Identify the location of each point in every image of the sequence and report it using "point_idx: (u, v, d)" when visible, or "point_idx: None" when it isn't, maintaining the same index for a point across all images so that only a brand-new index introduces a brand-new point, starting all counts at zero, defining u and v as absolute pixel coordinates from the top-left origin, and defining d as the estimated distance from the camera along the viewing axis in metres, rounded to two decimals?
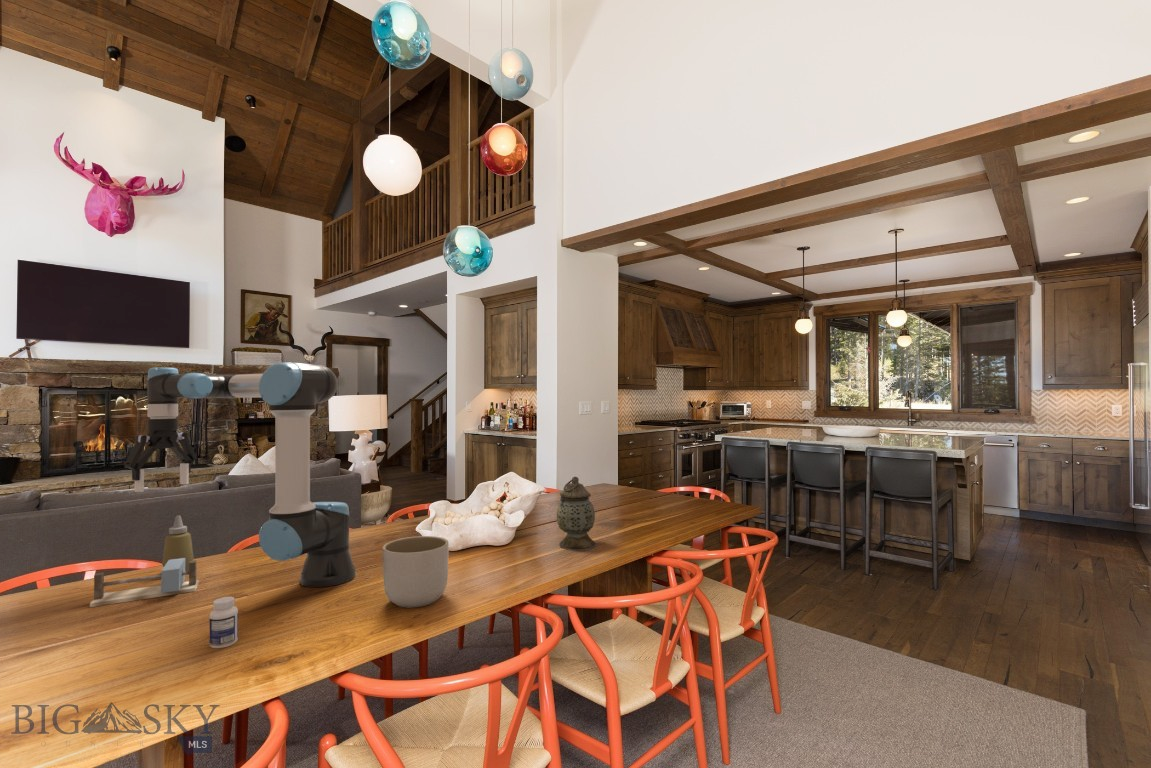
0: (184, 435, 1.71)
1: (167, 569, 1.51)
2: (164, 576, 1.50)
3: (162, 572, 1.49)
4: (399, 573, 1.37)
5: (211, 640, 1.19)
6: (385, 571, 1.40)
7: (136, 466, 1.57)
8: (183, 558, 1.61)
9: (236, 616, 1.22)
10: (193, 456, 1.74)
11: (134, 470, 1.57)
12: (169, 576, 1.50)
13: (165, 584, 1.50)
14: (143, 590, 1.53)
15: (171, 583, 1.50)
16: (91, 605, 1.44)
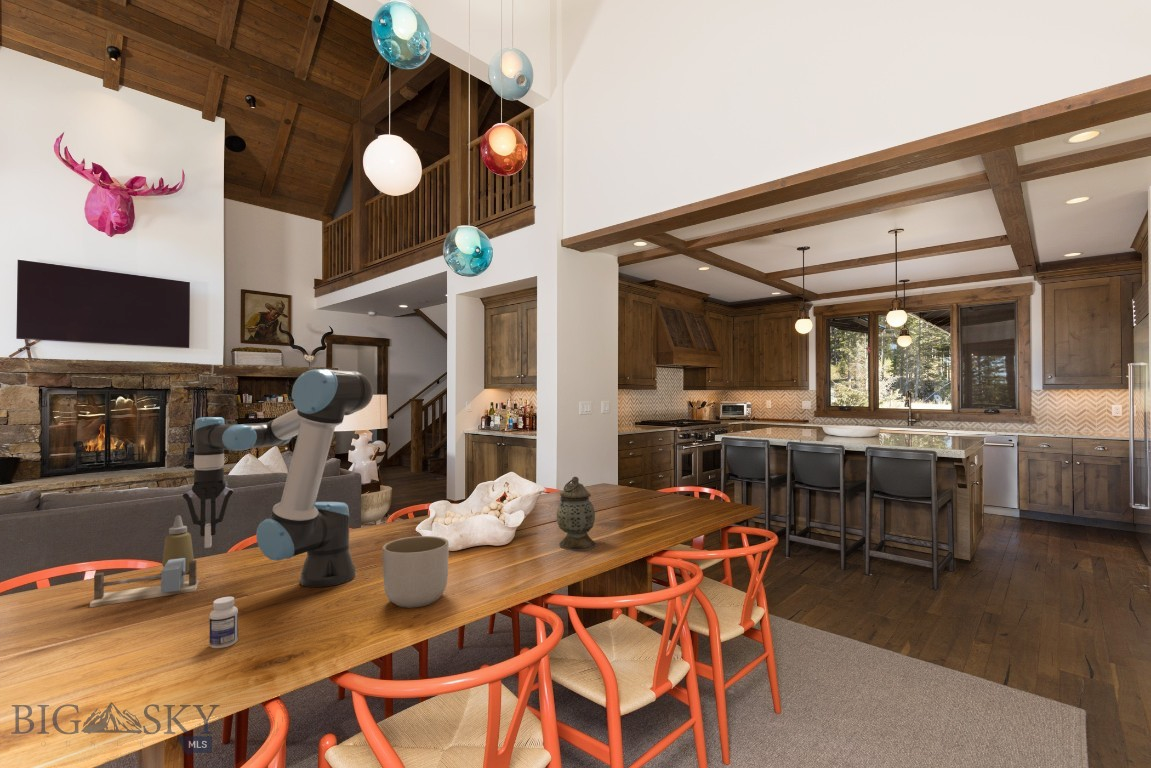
0: (228, 492, 1.65)
1: (167, 569, 1.51)
2: (164, 576, 1.50)
3: (162, 572, 1.49)
4: (399, 573, 1.37)
5: (211, 640, 1.19)
6: (385, 571, 1.40)
7: None
8: (183, 558, 1.61)
9: (236, 616, 1.22)
10: (220, 517, 1.64)
11: None
12: (169, 576, 1.50)
13: (165, 584, 1.50)
14: (143, 590, 1.53)
15: (171, 583, 1.50)
16: (91, 605, 1.44)
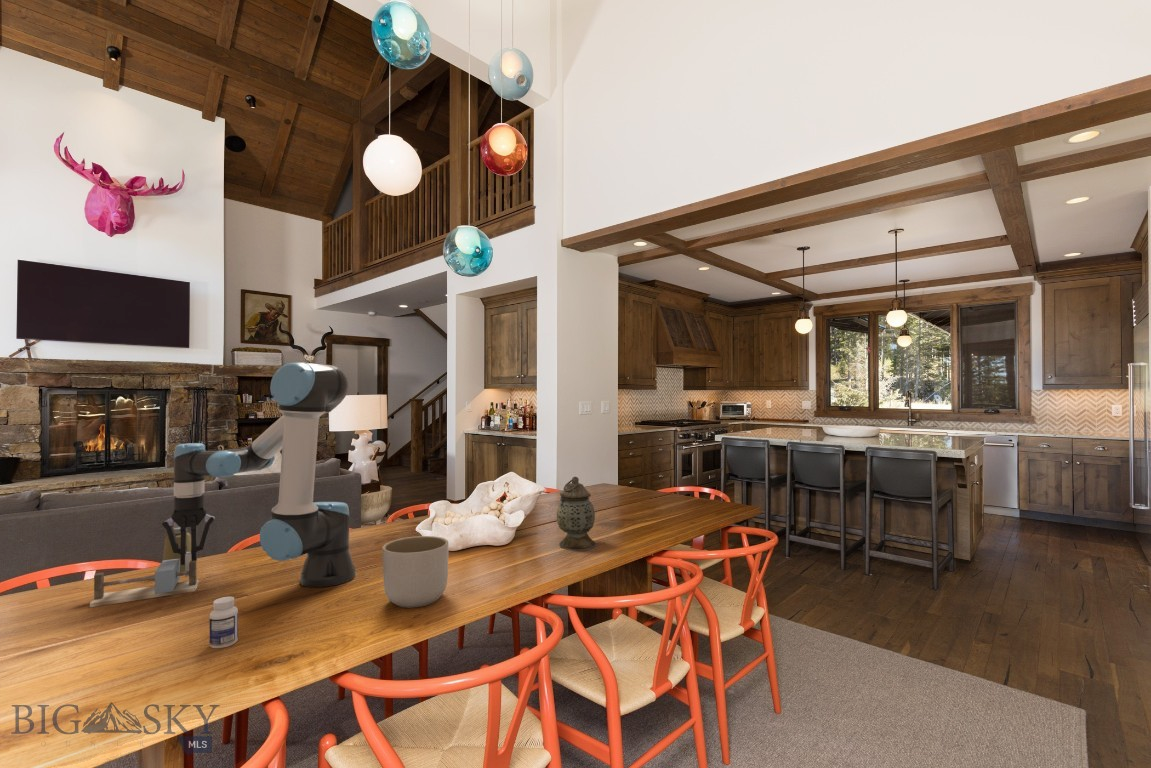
0: (209, 519, 1.63)
1: (161, 570, 1.50)
2: (157, 576, 1.49)
3: (156, 573, 1.49)
4: (399, 573, 1.37)
5: (211, 640, 1.19)
6: (385, 571, 1.40)
7: (180, 552, 1.59)
8: (177, 559, 1.60)
9: (236, 616, 1.22)
10: (200, 544, 1.62)
11: (180, 554, 1.60)
12: (163, 577, 1.50)
13: (159, 585, 1.49)
14: (143, 590, 1.53)
15: (165, 584, 1.50)
16: (91, 605, 1.44)
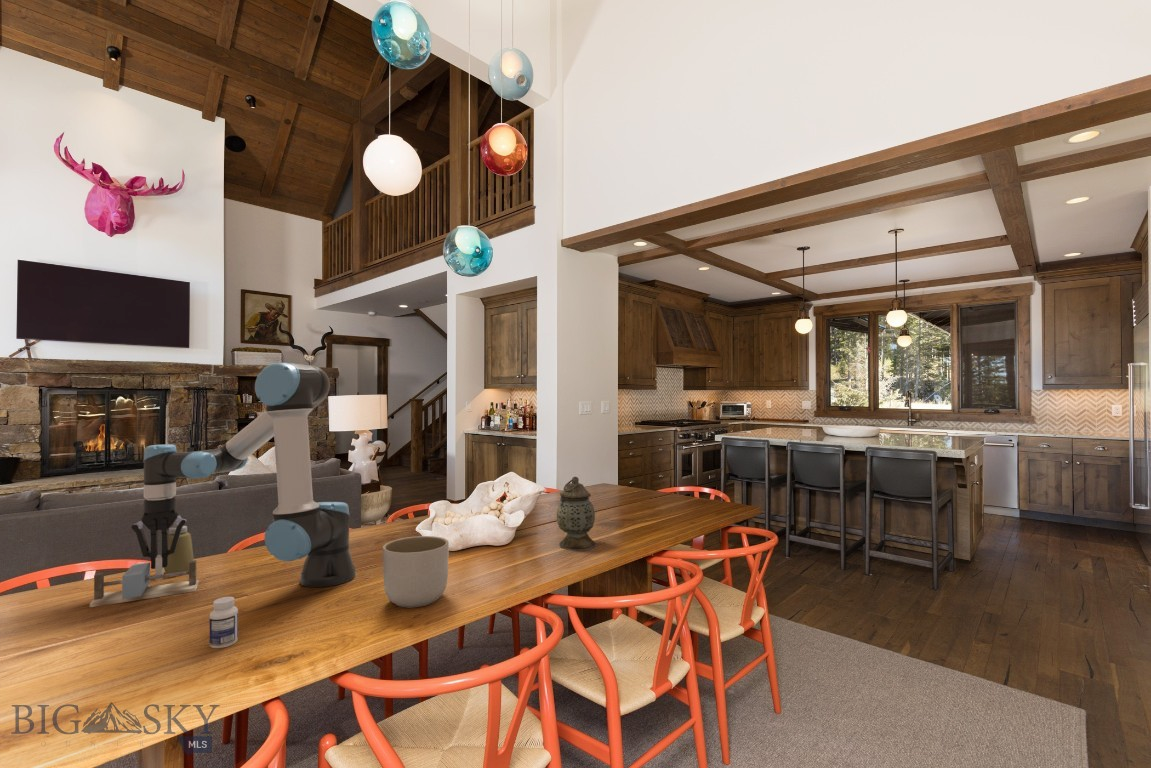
0: (181, 522, 1.59)
1: (129, 574, 1.47)
2: (125, 581, 1.46)
3: (123, 577, 1.45)
4: (399, 573, 1.37)
5: (211, 640, 1.19)
6: (385, 571, 1.40)
7: (150, 556, 1.56)
8: (148, 563, 1.57)
9: (236, 616, 1.22)
10: (171, 548, 1.58)
11: (151, 558, 1.57)
12: (131, 581, 1.46)
13: (126, 590, 1.46)
14: None
15: (133, 589, 1.46)
16: (91, 605, 1.44)
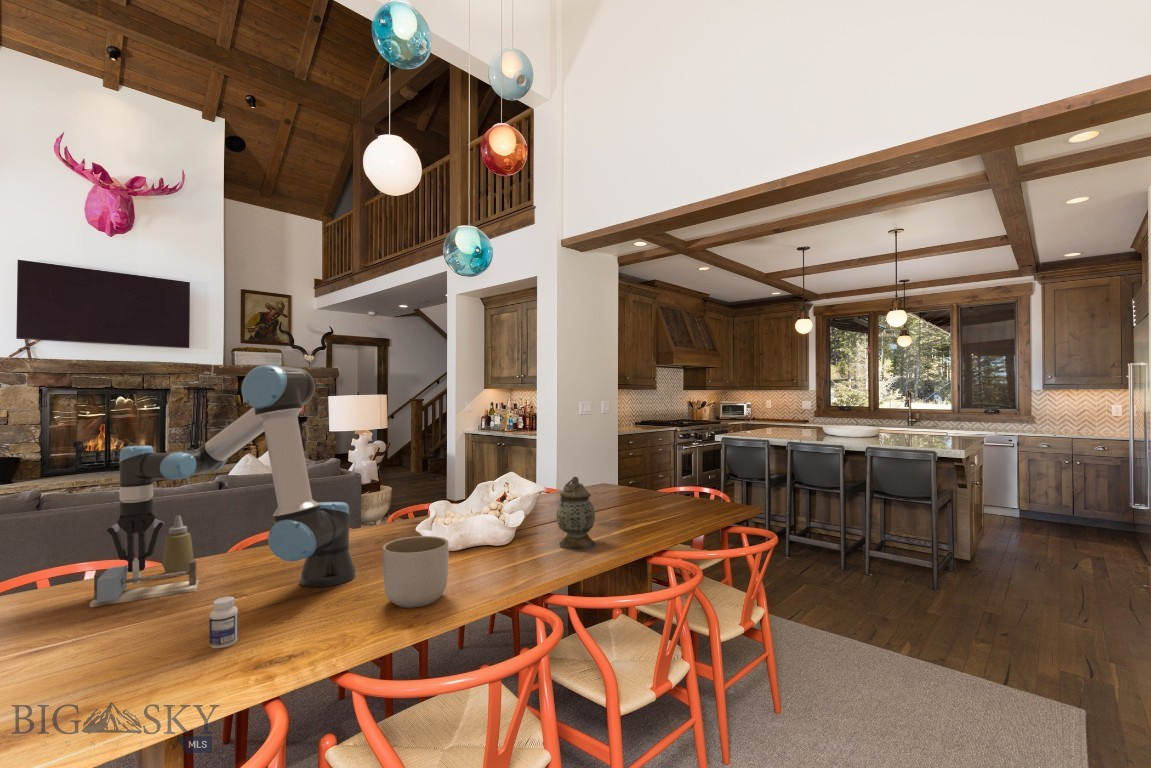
0: (158, 525, 1.57)
1: (104, 577, 1.44)
2: (100, 584, 1.43)
3: (98, 581, 1.43)
4: (399, 573, 1.37)
5: (211, 640, 1.19)
6: (385, 571, 1.40)
7: (127, 559, 1.53)
8: (125, 565, 1.54)
9: (236, 616, 1.22)
10: (148, 551, 1.56)
11: (128, 561, 1.54)
12: (106, 585, 1.44)
13: (101, 593, 1.43)
14: (143, 590, 1.53)
15: (108, 592, 1.44)
16: (91, 605, 1.44)
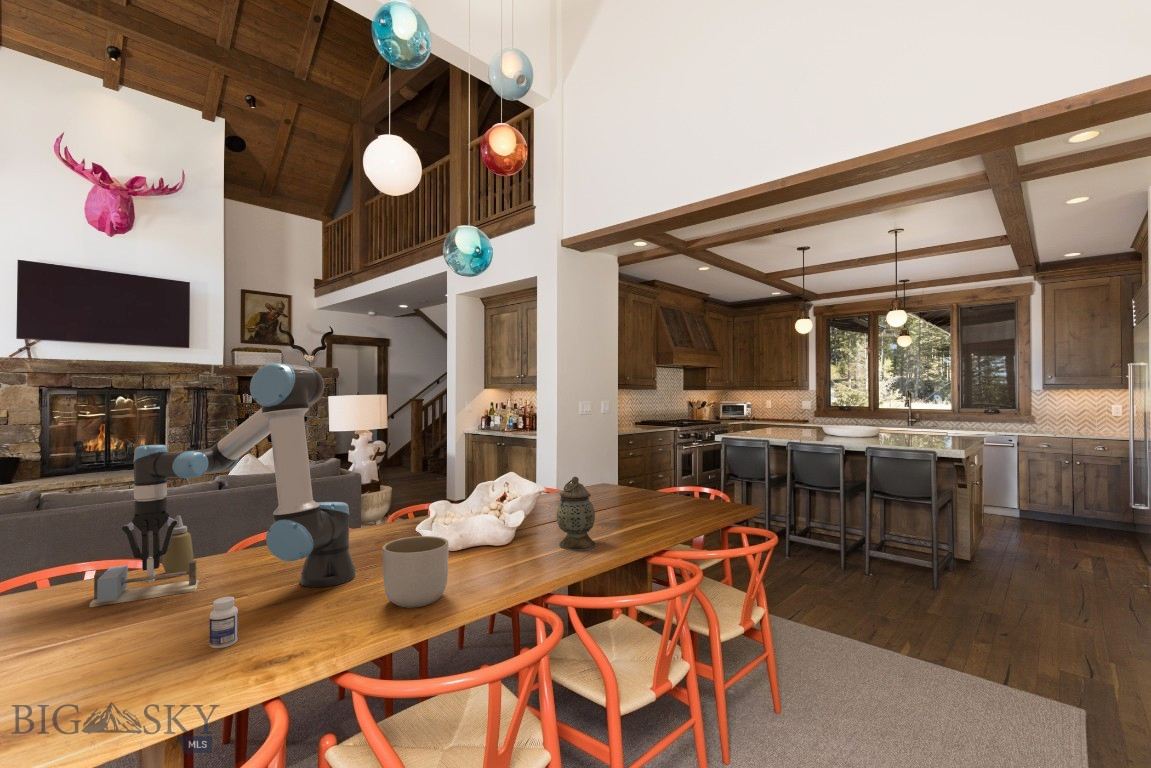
0: (172, 523, 1.58)
1: (104, 577, 1.44)
2: (100, 584, 1.43)
3: (98, 581, 1.43)
4: (399, 573, 1.37)
5: (211, 640, 1.19)
6: (385, 571, 1.40)
7: (142, 557, 1.55)
8: (125, 565, 1.54)
9: (236, 616, 1.22)
10: (163, 549, 1.57)
11: (142, 559, 1.55)
12: (106, 585, 1.44)
13: (102, 593, 1.43)
14: (143, 590, 1.53)
15: (108, 592, 1.44)
16: (91, 605, 1.44)
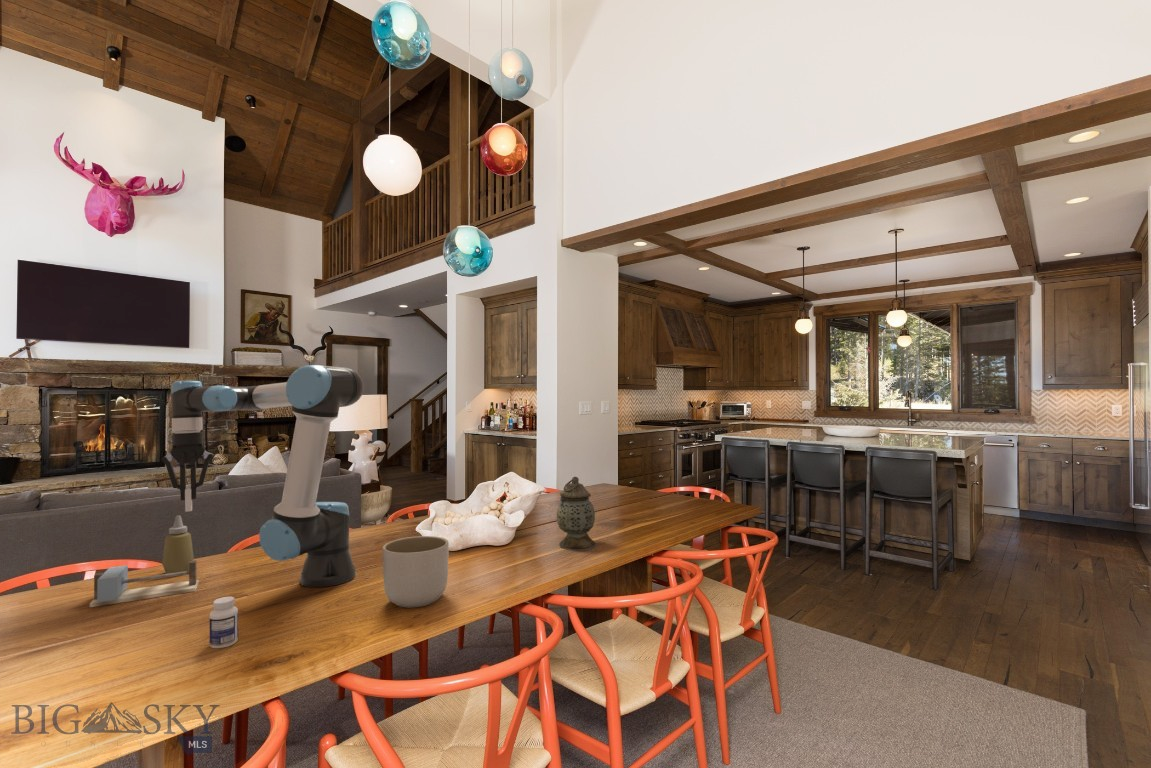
0: (208, 456, 1.65)
1: (104, 577, 1.44)
2: (100, 584, 1.43)
3: (98, 581, 1.43)
4: (399, 573, 1.37)
5: (211, 640, 1.19)
6: (385, 571, 1.40)
7: (180, 488, 1.61)
8: (125, 565, 1.54)
9: (236, 616, 1.22)
10: (200, 480, 1.63)
11: (180, 490, 1.61)
12: (106, 585, 1.44)
13: (102, 593, 1.43)
14: (143, 590, 1.53)
15: (108, 592, 1.44)
16: (91, 605, 1.44)
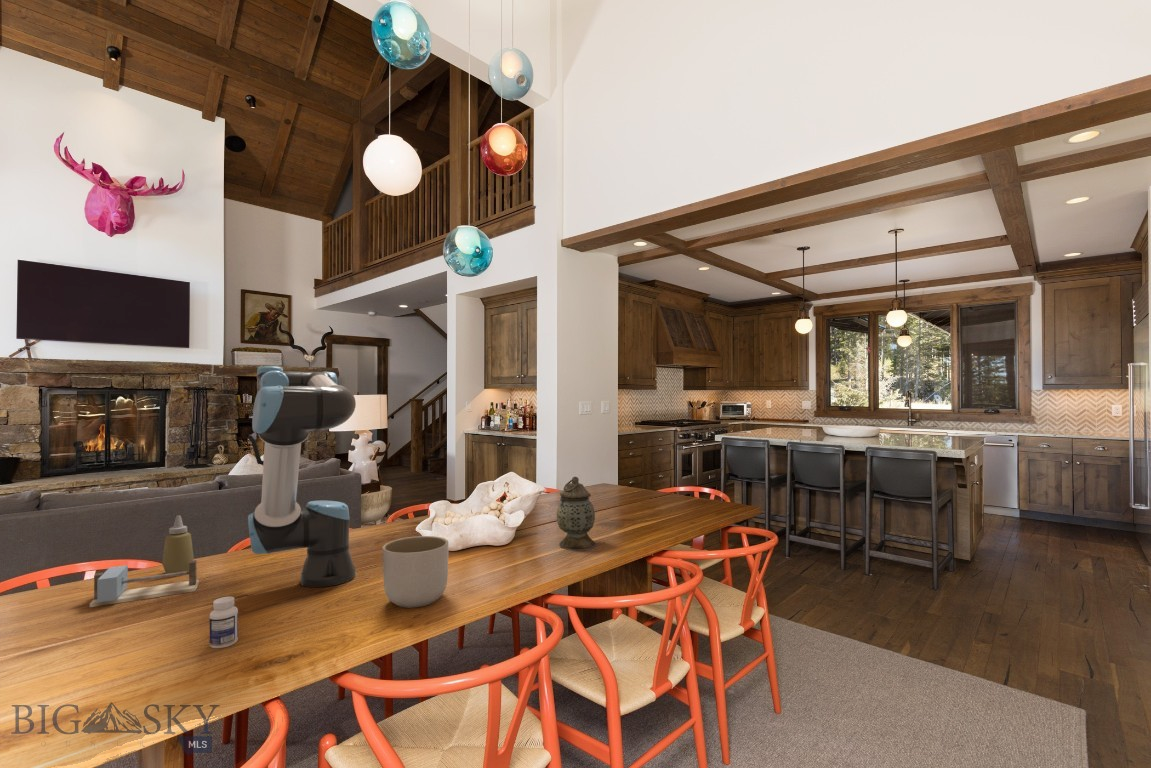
0: None
1: (104, 577, 1.44)
2: (100, 584, 1.43)
3: (98, 581, 1.43)
4: (399, 573, 1.37)
5: (211, 640, 1.19)
6: (385, 571, 1.40)
7: None
8: (125, 565, 1.54)
9: (236, 616, 1.22)
10: None
11: None
12: (106, 585, 1.44)
13: (102, 593, 1.43)
14: (143, 590, 1.53)
15: (108, 592, 1.44)
16: (91, 605, 1.44)
